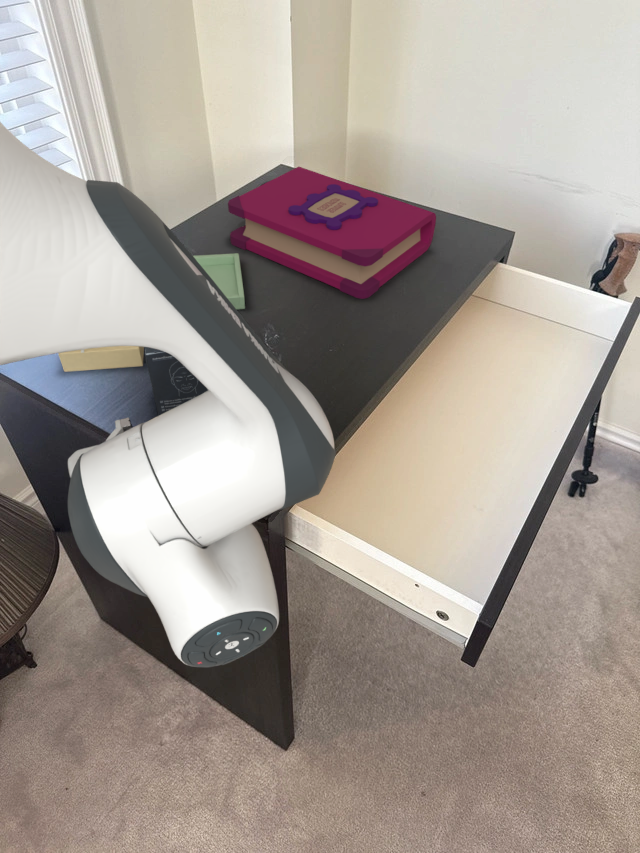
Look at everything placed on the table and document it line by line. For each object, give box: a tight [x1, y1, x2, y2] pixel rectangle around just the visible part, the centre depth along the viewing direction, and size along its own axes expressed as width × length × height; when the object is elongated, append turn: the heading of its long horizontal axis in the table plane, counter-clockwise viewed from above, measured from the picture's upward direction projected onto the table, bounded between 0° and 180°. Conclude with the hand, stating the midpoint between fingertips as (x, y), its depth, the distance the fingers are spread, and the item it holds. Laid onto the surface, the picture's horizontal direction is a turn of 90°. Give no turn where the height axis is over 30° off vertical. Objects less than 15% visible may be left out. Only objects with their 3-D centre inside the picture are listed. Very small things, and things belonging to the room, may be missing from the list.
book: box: [227, 166, 437, 300], centre depth 105 cm, size 21×28×8 cm
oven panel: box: [58, 346, 145, 373], centre depth 84 cm, size 11×8×3 cm
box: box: [144, 347, 208, 416], centre depth 75 cm, size 8×6×11 cm
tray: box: [192, 252, 246, 310], centre depth 96 cm, size 15×13×2 cm
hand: (169, 412), depth 66 cm, fingers open, 8 cm apart
